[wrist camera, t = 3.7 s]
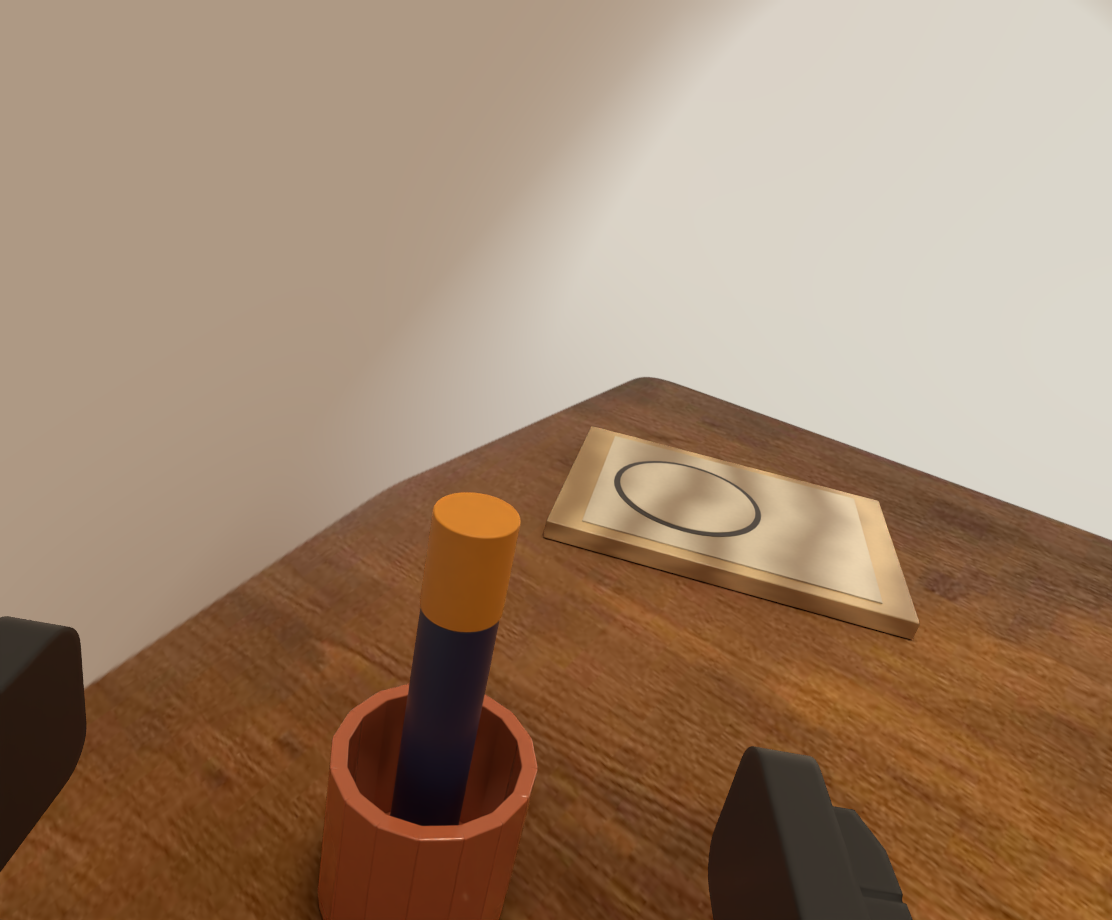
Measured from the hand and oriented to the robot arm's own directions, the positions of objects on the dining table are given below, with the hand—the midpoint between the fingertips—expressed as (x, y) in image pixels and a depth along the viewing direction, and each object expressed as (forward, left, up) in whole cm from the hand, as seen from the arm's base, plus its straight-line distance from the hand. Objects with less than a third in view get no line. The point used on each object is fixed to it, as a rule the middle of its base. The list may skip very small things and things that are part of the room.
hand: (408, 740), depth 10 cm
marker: (-2, +11, -17) cm, 21 cm away
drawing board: (+8, +43, -18) cm, 47 cm away
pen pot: (-2, +11, -18) cm, 21 cm away
